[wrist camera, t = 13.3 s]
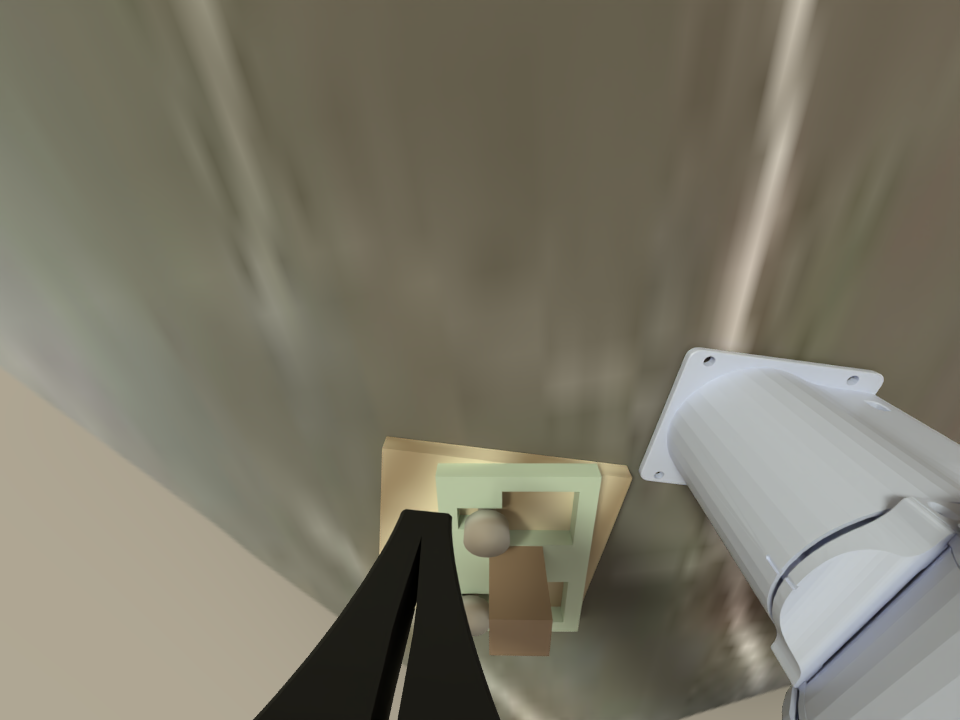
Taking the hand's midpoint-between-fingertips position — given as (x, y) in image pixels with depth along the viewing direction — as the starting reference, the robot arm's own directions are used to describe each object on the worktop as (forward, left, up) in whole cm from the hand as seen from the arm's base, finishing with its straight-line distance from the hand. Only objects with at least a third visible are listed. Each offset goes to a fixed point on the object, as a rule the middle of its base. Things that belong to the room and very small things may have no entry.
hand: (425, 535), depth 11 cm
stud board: (-4, +11, -9) cm, 15 cm away
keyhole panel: (-5, +11, -8) cm, 14 cm away
